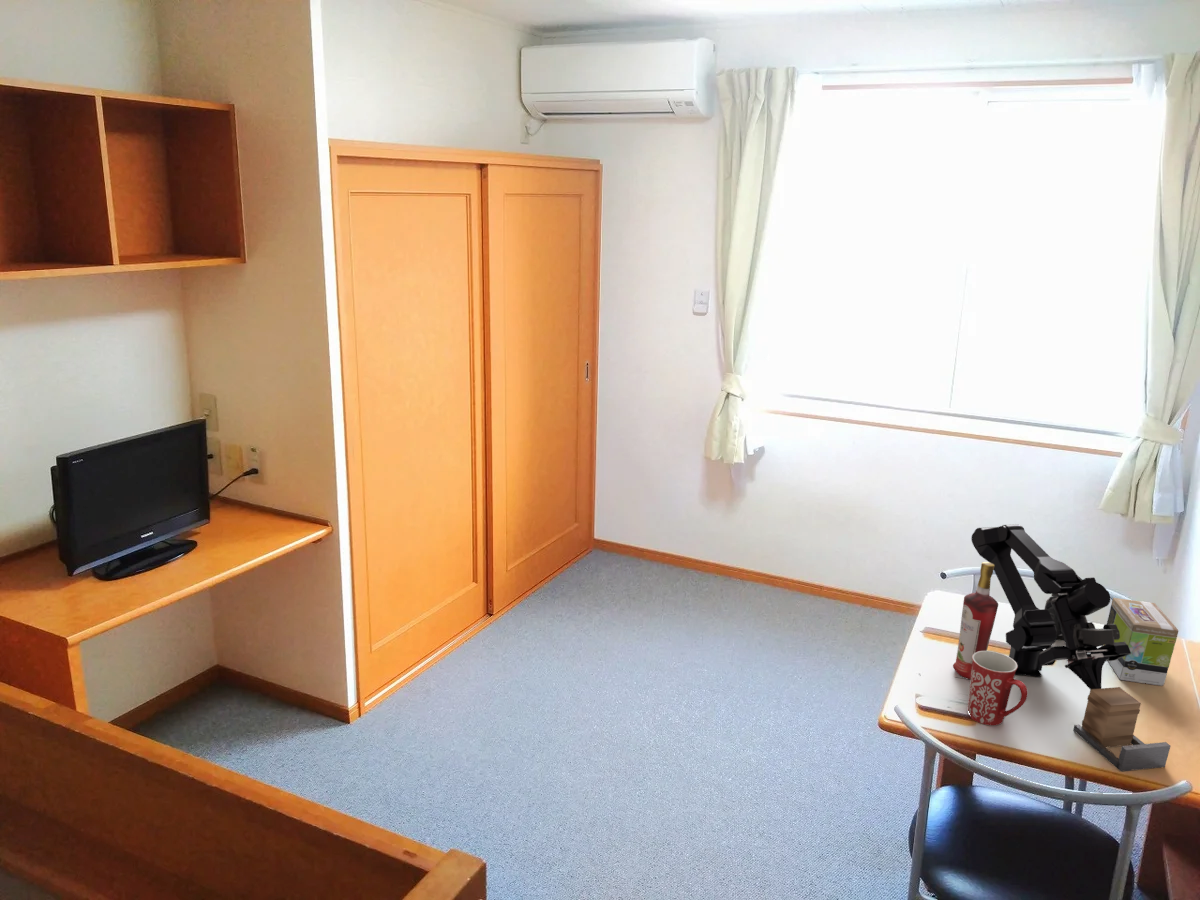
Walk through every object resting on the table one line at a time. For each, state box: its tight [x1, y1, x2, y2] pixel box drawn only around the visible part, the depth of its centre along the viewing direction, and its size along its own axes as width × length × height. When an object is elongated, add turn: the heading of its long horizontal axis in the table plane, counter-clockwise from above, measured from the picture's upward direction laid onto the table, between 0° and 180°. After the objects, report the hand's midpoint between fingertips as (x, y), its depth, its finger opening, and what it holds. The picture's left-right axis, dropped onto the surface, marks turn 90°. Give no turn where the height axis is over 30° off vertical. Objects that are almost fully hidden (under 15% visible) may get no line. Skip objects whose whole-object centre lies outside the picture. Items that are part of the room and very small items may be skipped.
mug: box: [967, 650, 1028, 727], centre depth 193 cm, size 13×9×14 cm
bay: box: [1073, 724, 1171, 772], centre depth 187 cm, size 14×10×5 cm
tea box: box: [1100, 597, 1179, 686], centre depth 217 cm, size 15×10×15 cm, turn 168°
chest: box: [1081, 686, 1142, 748], centre depth 189 cm, size 6×7×10 cm
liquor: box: [952, 561, 999, 680], centre depth 209 cm, size 7×7×28 cm
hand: (1098, 693), depth 193 cm, fingers closed
